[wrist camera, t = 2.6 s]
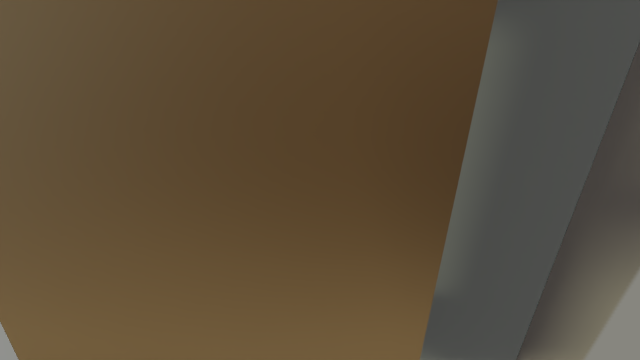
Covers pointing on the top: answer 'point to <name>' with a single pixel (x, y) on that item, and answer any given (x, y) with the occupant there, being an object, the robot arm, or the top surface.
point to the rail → (230, 174)
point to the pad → (526, 166)
